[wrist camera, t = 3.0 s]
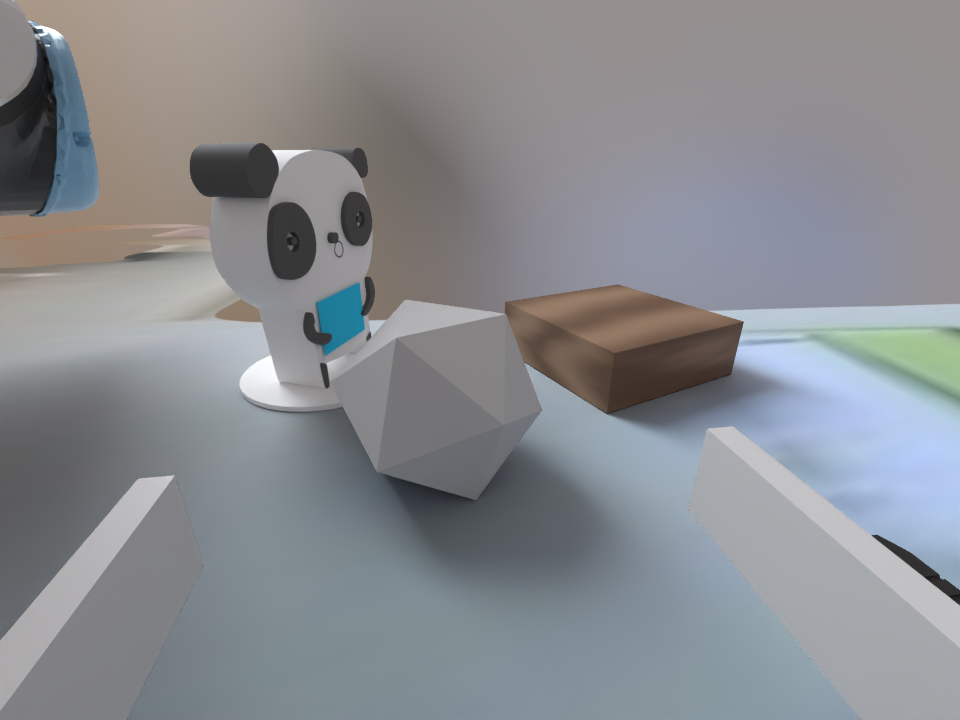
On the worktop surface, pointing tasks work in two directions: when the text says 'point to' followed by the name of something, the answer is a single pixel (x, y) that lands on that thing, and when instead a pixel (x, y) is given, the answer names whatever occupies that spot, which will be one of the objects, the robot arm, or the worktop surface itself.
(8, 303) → the worktop surface
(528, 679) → the worktop surface
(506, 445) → the die
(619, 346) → the plinth
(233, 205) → the panda figurine
